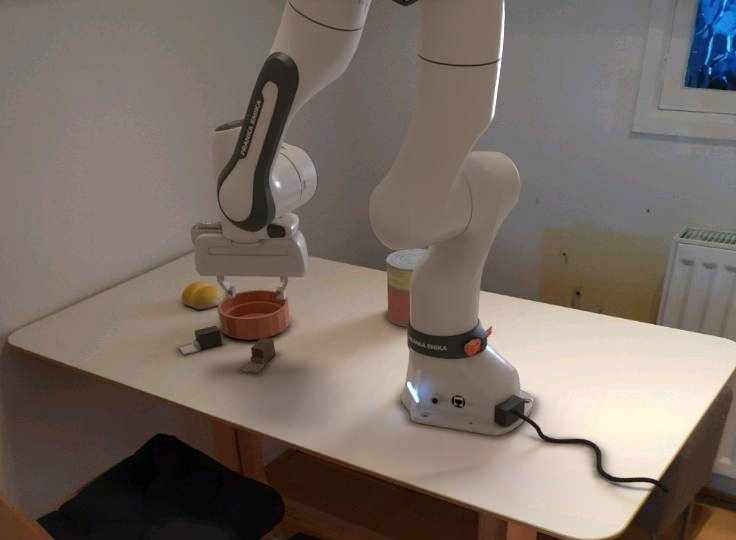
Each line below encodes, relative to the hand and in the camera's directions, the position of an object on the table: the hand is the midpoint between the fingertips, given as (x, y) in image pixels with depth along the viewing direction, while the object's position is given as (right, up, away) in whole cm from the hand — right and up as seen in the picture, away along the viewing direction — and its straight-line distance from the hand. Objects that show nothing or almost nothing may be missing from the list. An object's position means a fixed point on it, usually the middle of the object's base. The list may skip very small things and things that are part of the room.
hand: (256, 297), depth 149 cm
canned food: (+31, +1, +19) cm, 36 cm away
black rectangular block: (-12, -6, +13) cm, 19 cm away
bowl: (-2, -1, +19) cm, 19 cm away
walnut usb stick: (0, -11, +6) cm, 12 cm away
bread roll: (-15, +7, +30) cm, 35 cm away
